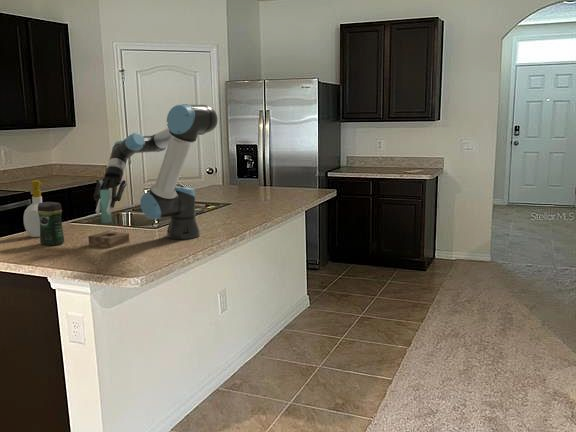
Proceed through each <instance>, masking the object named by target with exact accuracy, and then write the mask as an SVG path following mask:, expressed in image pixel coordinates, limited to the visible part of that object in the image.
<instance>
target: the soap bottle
mask: <svg viewBox="0 0 576 432" xmlns="http://www.w3.org/2000/svg"><path fill="white" fill-rule="evenodd" d="M40 185H41V186H43V183H42V182H41V181H40V180H31V186H32V197H31V200H32V201H31V202H32V203H31V204H29V205H27V207H26V209H25V210H24V212H23V226H24V229H25V231H26V233H27V234H28V236H29V237H30V238H40V218H39V214H38V204H39V203H43V196H42V193H41V192H42V190H41V189H40Z"/></svg>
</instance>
